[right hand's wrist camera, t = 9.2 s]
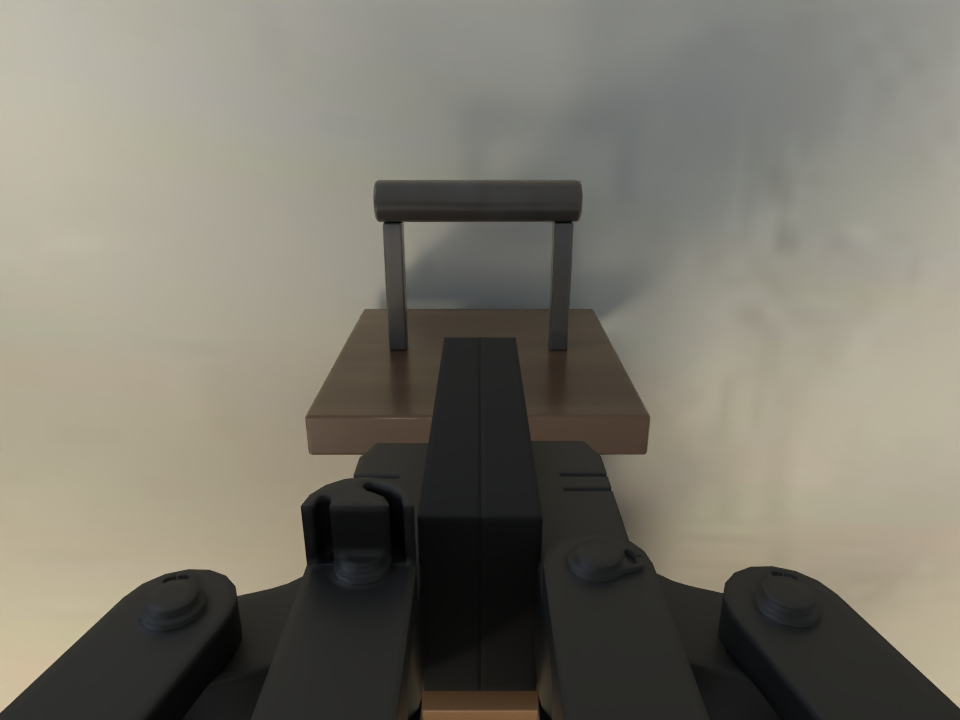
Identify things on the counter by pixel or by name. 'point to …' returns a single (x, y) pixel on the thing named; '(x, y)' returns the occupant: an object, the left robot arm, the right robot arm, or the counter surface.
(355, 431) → the drawer
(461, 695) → the cabinet
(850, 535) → the counter surface
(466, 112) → the counter surface
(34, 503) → the counter surface
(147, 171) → the counter surface
